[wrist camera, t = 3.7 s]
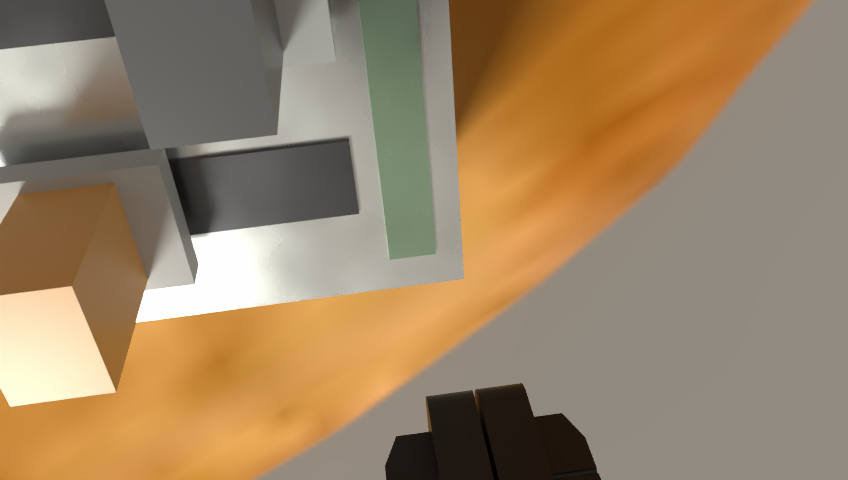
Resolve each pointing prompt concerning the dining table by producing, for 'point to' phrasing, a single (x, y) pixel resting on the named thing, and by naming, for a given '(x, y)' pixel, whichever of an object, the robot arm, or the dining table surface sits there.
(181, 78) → the breaker mid
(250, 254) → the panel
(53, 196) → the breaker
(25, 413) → the dining table surface
